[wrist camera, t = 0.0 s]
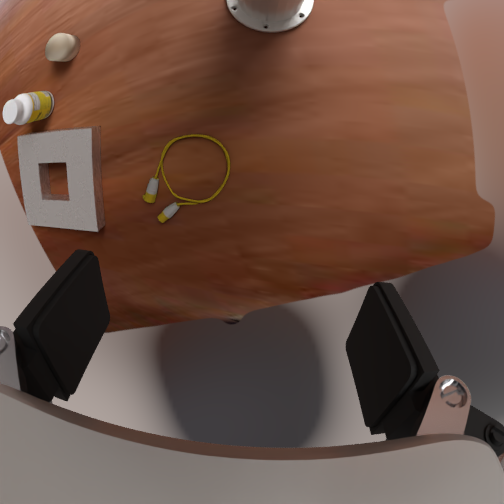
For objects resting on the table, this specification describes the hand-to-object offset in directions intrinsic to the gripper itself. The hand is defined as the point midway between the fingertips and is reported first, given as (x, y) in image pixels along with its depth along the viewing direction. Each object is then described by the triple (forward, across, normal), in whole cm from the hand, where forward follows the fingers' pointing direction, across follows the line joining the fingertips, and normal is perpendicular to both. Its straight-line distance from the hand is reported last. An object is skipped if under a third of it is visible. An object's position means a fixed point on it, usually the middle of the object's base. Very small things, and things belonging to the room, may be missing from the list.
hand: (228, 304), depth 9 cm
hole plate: (+37, +34, +7) cm, 51 cm away
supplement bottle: (+37, +38, -7) cm, 53 cm away
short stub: (+37, +33, -17) cm, 52 cm away
